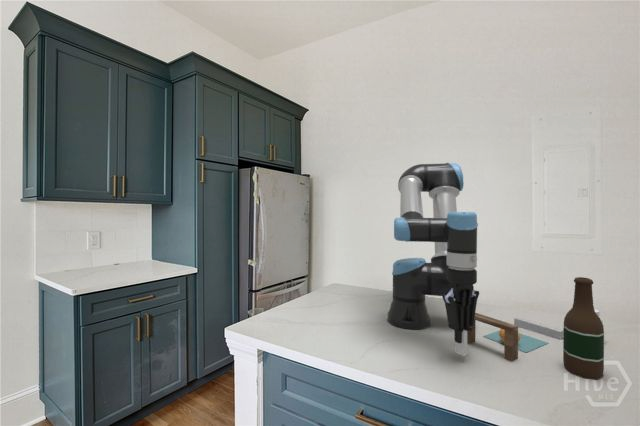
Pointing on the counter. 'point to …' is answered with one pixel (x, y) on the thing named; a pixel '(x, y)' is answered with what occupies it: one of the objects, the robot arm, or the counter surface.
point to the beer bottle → (583, 334)
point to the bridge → (509, 335)
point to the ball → (501, 334)
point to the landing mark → (520, 341)
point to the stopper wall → (539, 328)
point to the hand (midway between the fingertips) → (461, 353)
